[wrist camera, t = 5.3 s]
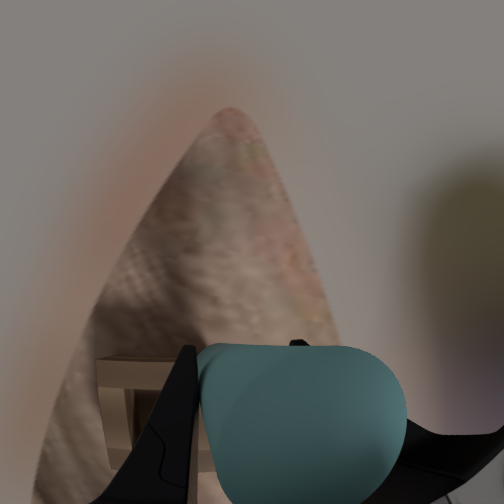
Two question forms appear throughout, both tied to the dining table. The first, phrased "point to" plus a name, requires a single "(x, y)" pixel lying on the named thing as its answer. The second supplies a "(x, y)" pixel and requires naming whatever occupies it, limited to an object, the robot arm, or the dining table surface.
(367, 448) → the teal pin
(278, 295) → the dining table surface
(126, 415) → the walnut hole block
